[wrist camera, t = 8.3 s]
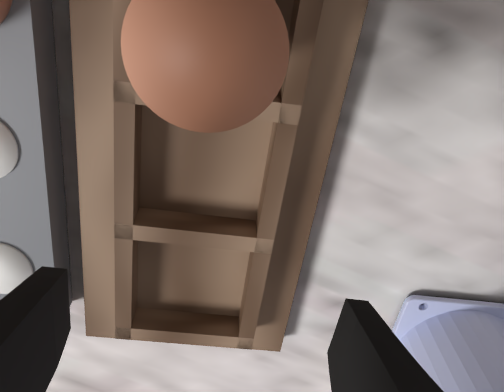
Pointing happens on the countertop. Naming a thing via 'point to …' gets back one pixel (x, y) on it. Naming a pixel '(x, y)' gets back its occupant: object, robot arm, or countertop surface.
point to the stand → (30, 146)
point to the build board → (202, 188)
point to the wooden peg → (205, 59)
